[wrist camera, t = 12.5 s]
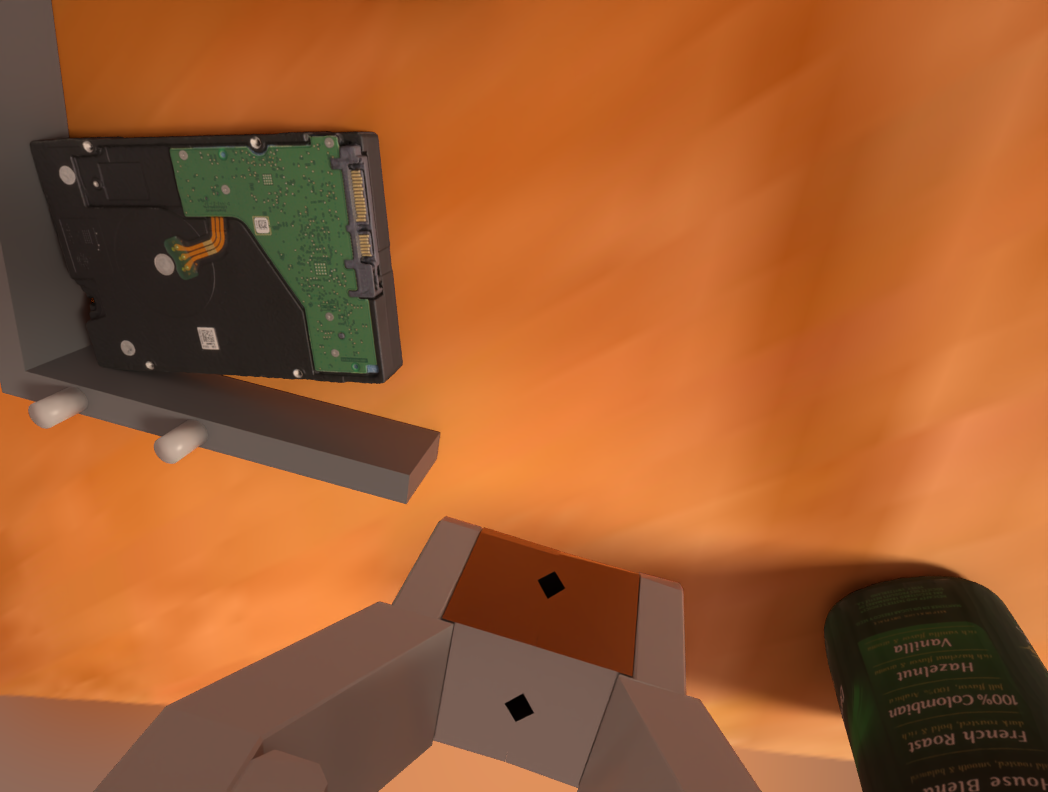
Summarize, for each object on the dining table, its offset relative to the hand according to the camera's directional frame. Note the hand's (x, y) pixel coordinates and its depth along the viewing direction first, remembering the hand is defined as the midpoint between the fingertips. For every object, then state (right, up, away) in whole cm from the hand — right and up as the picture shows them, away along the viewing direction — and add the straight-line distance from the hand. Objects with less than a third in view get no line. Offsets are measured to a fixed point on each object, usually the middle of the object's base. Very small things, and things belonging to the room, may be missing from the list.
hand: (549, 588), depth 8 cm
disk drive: (-13, +9, +21) cm, 27 cm away
